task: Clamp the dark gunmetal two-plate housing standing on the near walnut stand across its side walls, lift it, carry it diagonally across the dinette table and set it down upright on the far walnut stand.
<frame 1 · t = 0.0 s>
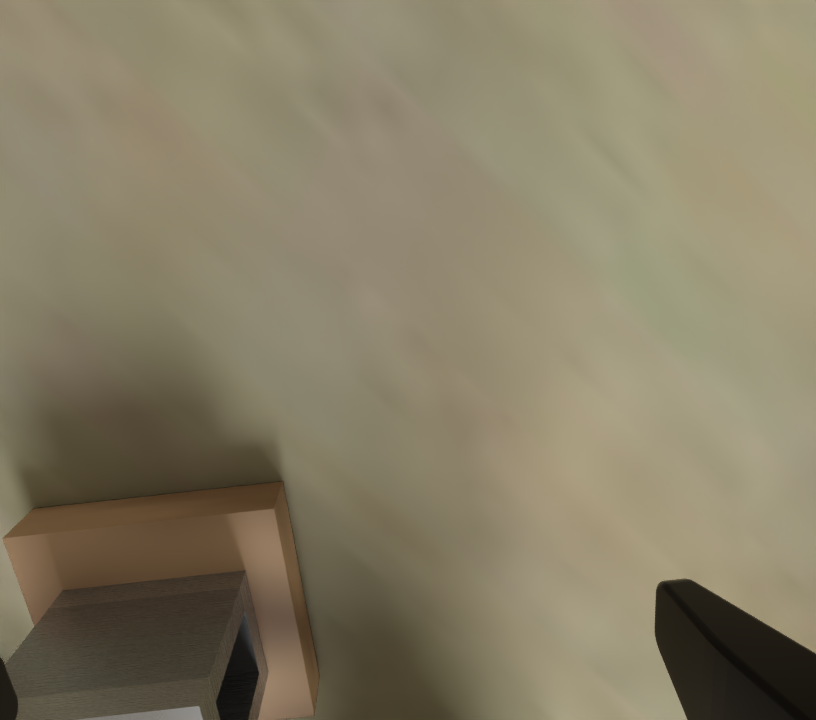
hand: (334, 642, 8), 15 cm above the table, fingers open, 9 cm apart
stand A: (185, 598, 25), on the table
housing: (169, 633, 23), point 2 cm above the table, touching stand A
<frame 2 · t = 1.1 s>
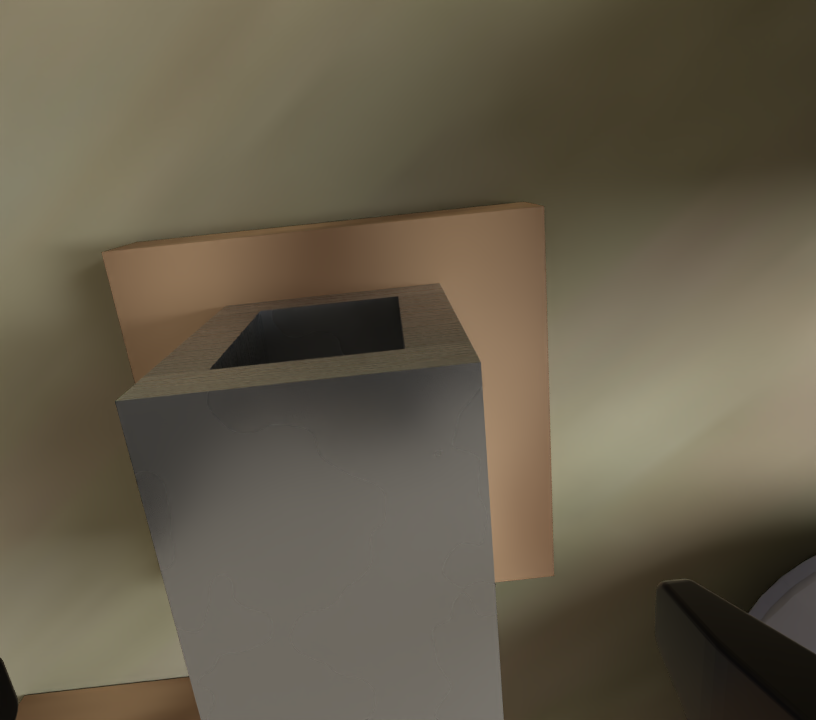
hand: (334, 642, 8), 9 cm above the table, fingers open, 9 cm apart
stand A: (355, 401, 17), on the table
housing: (351, 431, 15), point 2 cm above the table, touching stand A
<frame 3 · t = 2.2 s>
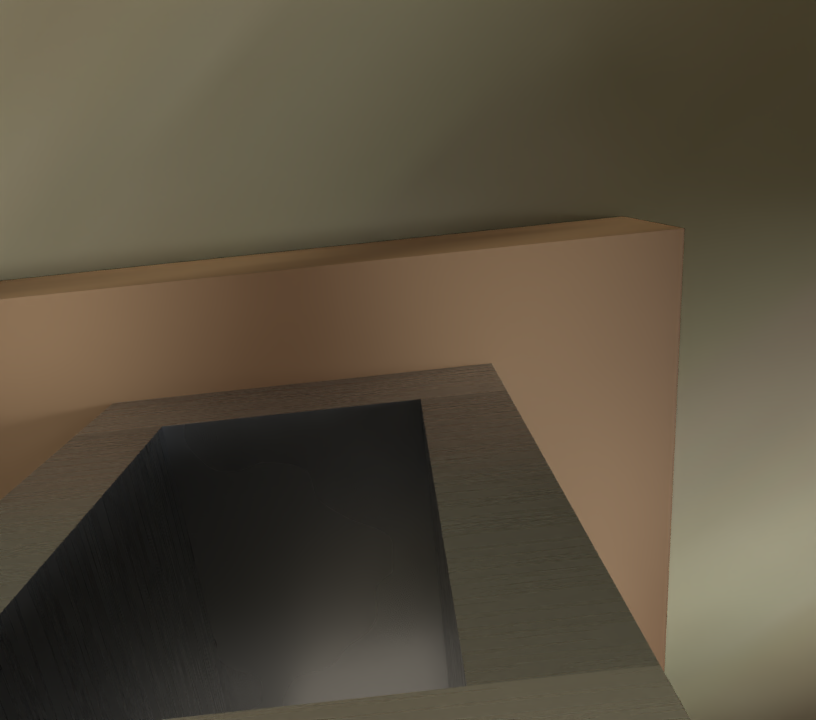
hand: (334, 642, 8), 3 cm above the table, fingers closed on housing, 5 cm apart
stand A: (346, 525, 11), on the table
housing: (338, 601, 9), point 2 cm above the table, touching gripper, stand A
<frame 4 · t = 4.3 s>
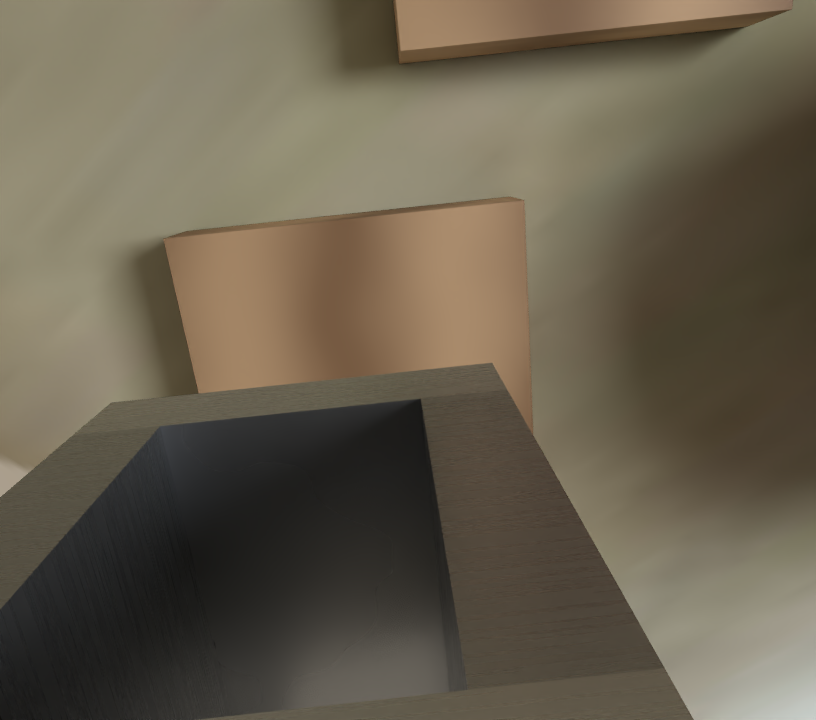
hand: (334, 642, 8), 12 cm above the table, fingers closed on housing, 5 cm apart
stand B: (368, 366, 20), on the table
housing: (337, 602, 9), point 11 cm above the table, touching gripper
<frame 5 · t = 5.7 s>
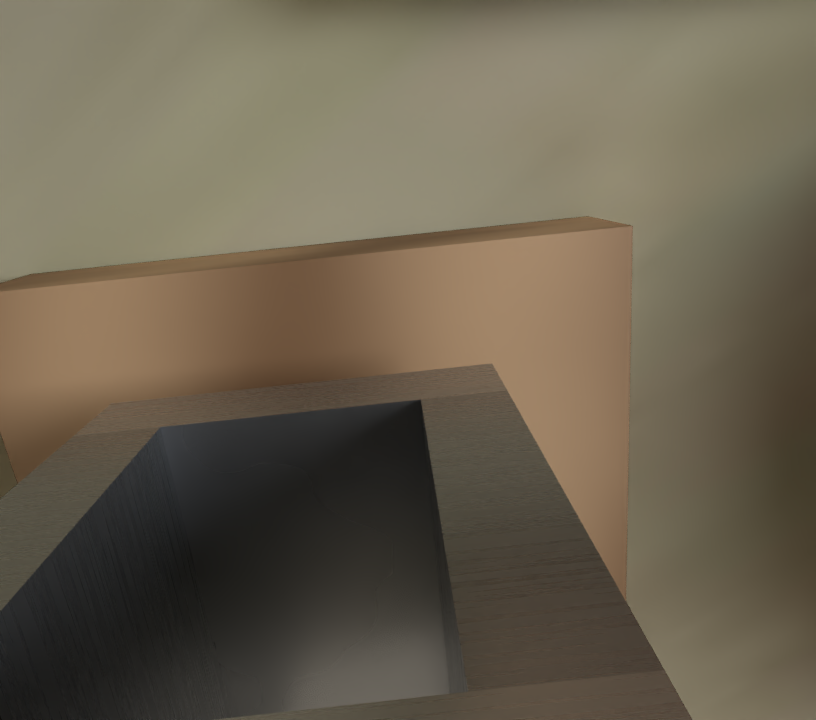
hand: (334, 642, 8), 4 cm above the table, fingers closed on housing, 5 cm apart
stand B: (347, 490, 12), on the table
housing: (338, 602, 9), point 3 cm above the table, touching gripper
when the fingers open (4 cm above the table, at t = 6.6 s): housing stays where it is, resting on stand B.
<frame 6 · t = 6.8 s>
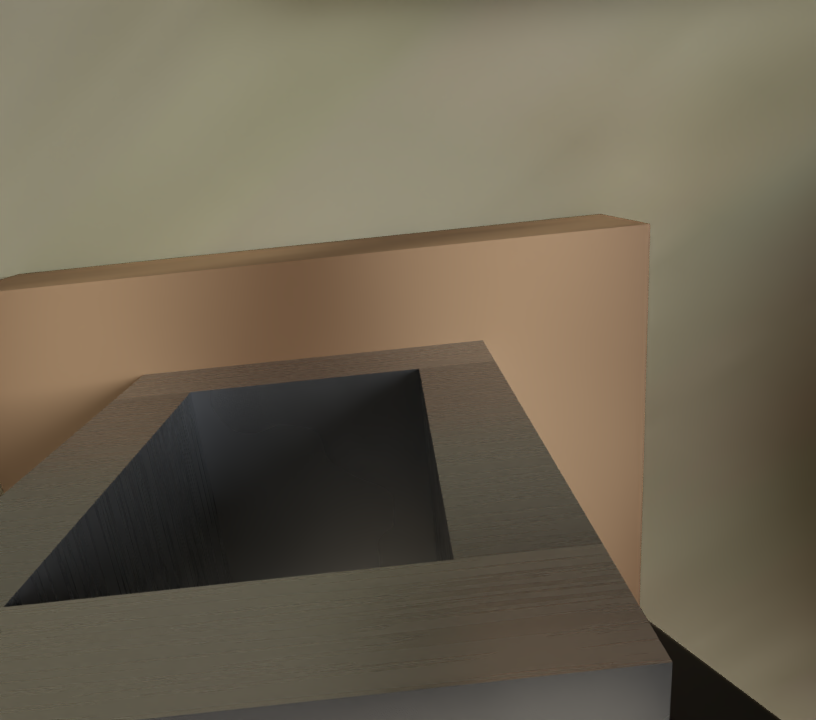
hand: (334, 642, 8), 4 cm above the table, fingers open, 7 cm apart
stand B: (348, 498, 12), on the table
housing: (343, 558, 10), point 2 cm above the table, touching stand B
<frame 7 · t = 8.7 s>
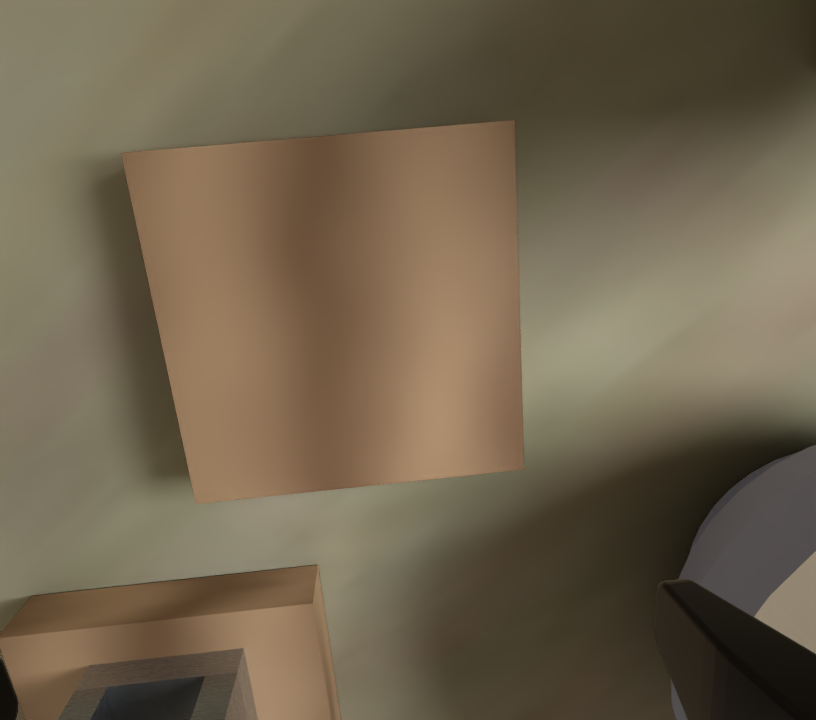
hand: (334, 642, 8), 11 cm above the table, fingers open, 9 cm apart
stand A: (345, 311, 18), on the table
stand B: (202, 692, 22), on the table
bowl: (799, 553, 22), on the table
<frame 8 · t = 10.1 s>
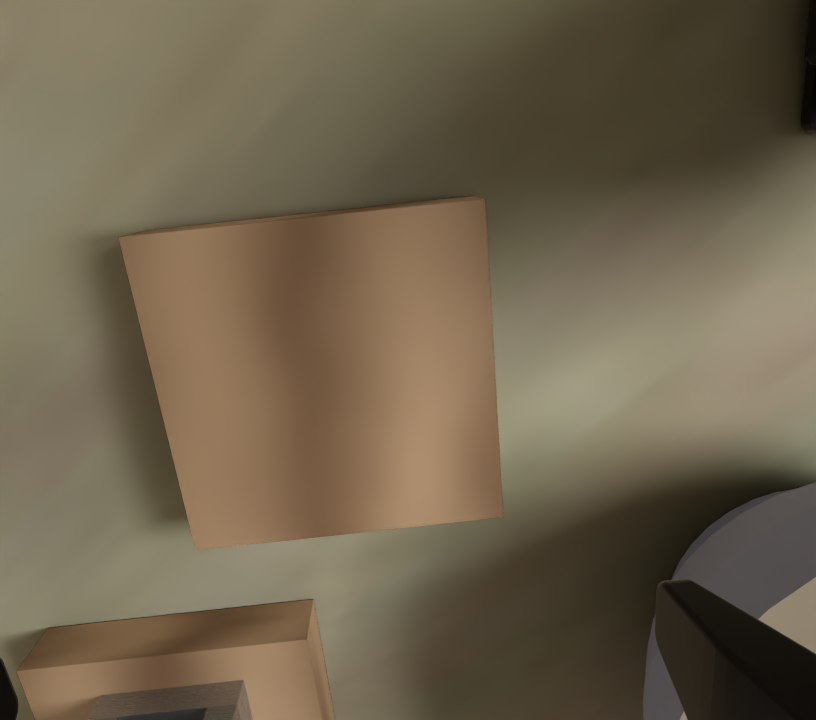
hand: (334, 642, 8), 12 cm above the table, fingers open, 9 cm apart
stand A: (333, 368, 19), on the table
stand B: (207, 715, 24), on the table
bowl: (778, 587, 23), on the table
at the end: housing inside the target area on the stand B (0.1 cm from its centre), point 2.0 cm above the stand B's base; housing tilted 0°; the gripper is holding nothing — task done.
